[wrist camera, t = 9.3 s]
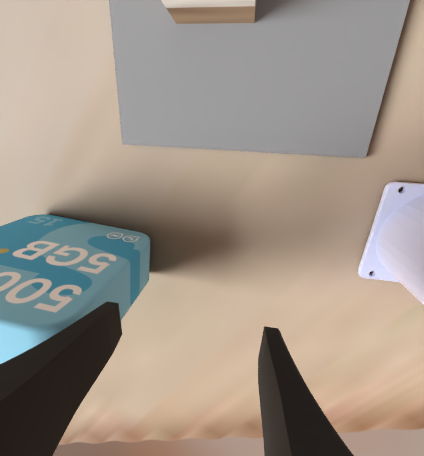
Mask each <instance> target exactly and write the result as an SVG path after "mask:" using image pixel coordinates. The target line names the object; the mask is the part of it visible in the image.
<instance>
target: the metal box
mask: <svg viewBox="0 0 424 456" xmlns="http://www.w3.org/2000/svg"><path fill="white" fill-rule="evenodd" d="M161 1H162V3H163V4H164V6H165V7H166V9H167V10H168V12H169V13H170V15H171V16H172V18H173V20H174V21H175V23H176V24H209V23H254V22H255V11H256V1H257V0H161Z"/></svg>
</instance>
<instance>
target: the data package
mask: <svg viewBox="0 0 424 456" xmlns="http://www.w3.org/2000/svg"><path fill="white" fill-rule="evenodd" d="M149 264H150V238H149V237H148V236H147V235H146V234H144V233H141V232H137V231H132V230H127V229H122V228H116V227H111V226H106V225H101V224H96V223H90V222H85V221H80V220H75V219H70V218H64V217H59V216H54V215H34V216H29V217H25V218H23V219H20V220H17V221H14V222H11V223H9V224H6V225H3V226H0V364H2V363H4V362H6V361H8V360H10V359H12V358H14V357H16V356H18V355H20V354H22V353H23V352H25V351H27V350H29V349H31V348H33V347H35V346H36V345H38V344H40V343H42V342H43V341H45V340H47V339H48V338H50V337H52V336H53V335H55V334H57V333H58V332H60V331H62V330H63V329H65V328H67V327H68V326H70V325H71V324H73V323H74V322H76V321H77V320H79V319H81V318H82V317H84V316H85V315H87V314H88V313H90V312H91V311H93V310H94V309H96V308H97V307H99V306H101V305H102V304H104V303H105V302H107V301H108V302H115V303H119V311H120V320H121V319H122V318H123V317H124V315H125V314H126V312H127V311H128V310H129V308H130V307H131V305H132V304H133V302H134V301H135V300H136V298H137V297H138V295H139V294H140V292H141V291H142V290H143V288H144V287H145V285H146V284H147V282H148V280H149Z"/></svg>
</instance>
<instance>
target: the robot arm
mask: <svg viewBox="0 0 424 456" xmlns="http://www.w3.org/2000/svg"><path fill="white" fill-rule="evenodd" d="M402 186H403V190H402V191H401V192H398V189H399V188H400V187H402ZM371 271H374V272H373V273H372V274H369V273H370V272H371ZM358 274H359V275H360V276H361V277H362V278H368V279H377V280H385V281H394V282H400V283H401V284H402V285H403V286H404V287H405V288H406V289H408V290H409V291H410V292H411V293H412V294H413V295H414V296H415V297H416V298H417V299H418V300H419V301H420V302H421V303H422V304H423V305H424V184H422V183H408V182H390V183H388V184H387V185H386V186H385V188H384V191H383V194H382V197H381V201H380V204H379V207H378V210H377V213H376V216H375V219H374V222H373V225H372V228H371V231H370V234H369V237H368V240H367V243H366V246H365V250H364V253H363V256H362V259H361V262H360V265H359V268H358ZM121 335H122V329H121V320H120V311H119V303H115V302H108V301H107V302H105V303H104V304H102V305H101V306H99V307H97V308H96V309H94V310H93V311H91V312H90V313H88V314H87V315H85V316H84V317H82V318H81V319H79V320H77V321H76V322H74V323H73V324H71V325H70V326H68V327H67V328H65V329H63V330H62V331H60V332H58V333H57V334H55V335H53V336H52V337H50V338H48V339H47V340H45V341H43V342H42V343H40V344H38V345H36V346H35V347H33V348H31V349H29V350H27V351H25V352H23V353H22V354H20V355H18V356H16V357H14V358H12V359H10V360H8V361H6V362H4V363H2V364H0V456H52V455H53V453H54V451H55V449H56V447H57V446H58V444H59V442H60V440H61V438H62V436H63V434H64V432H65V430H66V429H67V427H68V425H69V423H70V421H71V419H72V417H73V416H74V414H75V412H76V410H77V409H78V407H79V405H80V404H81V402H82V401H83V399H84V397H85V396H86V394H87V393H88V391H89V390H90V388H91V387H92V385H93V384H94V382H95V381H96V379H97V377H98V376H99V374H100V373H101V371H102V370H103V368H104V367H105V365H106V363H107V362H108V360H109V359H110V357H111V355H112V354H113V352H114V350H115V348H116V346H117V344H118V342H119V340H120V337H121ZM258 384H259V395H260V406H261V417H262V427H263V438H264V450H265V451H264V452H265V456H354V455H353V454H352V453H351V452H350V451H349V449H348V448H347V446H346V445H345V443H344V442H343V441H342V439H341V438H340V437H339V435H338V434H337V432H336V431H335V429H334V428H333V426H332V425H331V423H330V422H329V421H328V419H327V418H326V416H325V415H324V413H323V411H322V410H321V408H320V407H319V405H318V404H317V402H316V400H315V399H314V397H313V395H312V394H311V392H310V390H309V389H308V387H307V385H306V383H305V382H304V380H303V378H302V376H301V374H300V373H299V371H298V369H297V367H296V365H295V363H294V361H293V359H292V357H291V355H290V353H289V351H288V349H287V347H286V345H285V342H284V340H283V338H282V335H281V333H280V331H279V329H277V328H271V327H265V326H264V331H263V336H262V342H261V347H260V352H259V358H258Z"/></svg>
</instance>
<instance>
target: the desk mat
mask: <svg viewBox="0 0 424 456" xmlns="http://www.w3.org/2000/svg"><path fill="white" fill-rule="evenodd" d="M409 2H410V0H257V1H256V11H255V22H254V23H209V24H176V23H175V21H174V20H173V18H172V16H171V15H170V13H169V12H168V10H167V9H166V7H165V6H164V4H163V3H162V1H161V0H109V5H110V16H111V26H112V37H113V48H114V59H115V70H116V80H117V91H118V102H119V113H120V124H121V135H122V144H126V145H144V146H161V147H179V148H196V149H214V150H231V151H248V152H266V153H283V154H301V155H318V156H336V157H353V158H366V155H367V151H368V148H369V144H370V141H371V137H372V134H373V130H374V126H375V123H376V119H377V116H378V112H379V109H380V105H381V102H382V98H383V95H384V91H385V87H386V84H387V80H388V77H389V73H390V70H391V66H392V63H393V59H394V56H395V52H396V48H397V45H398V41H399V38H400V34H401V31H402V27H403V24H404V20H405V17H406V13H407V9H408V6H409Z"/></svg>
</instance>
